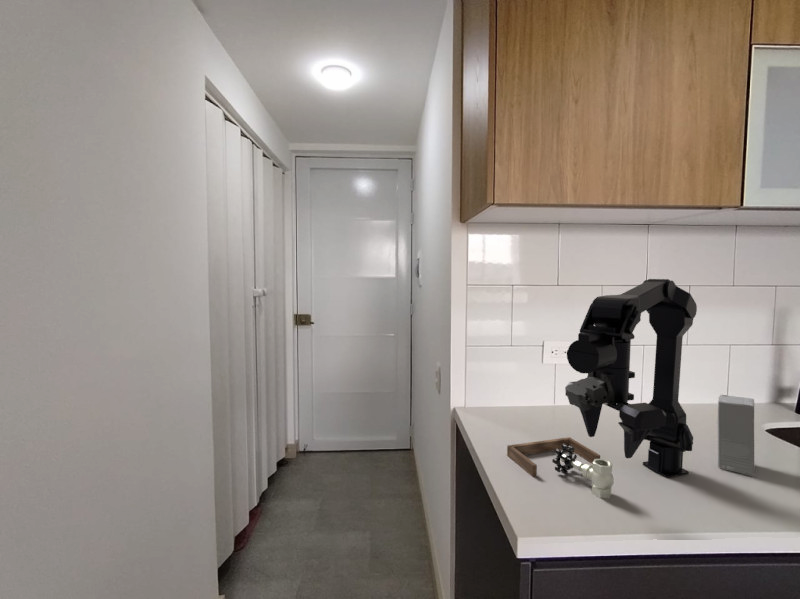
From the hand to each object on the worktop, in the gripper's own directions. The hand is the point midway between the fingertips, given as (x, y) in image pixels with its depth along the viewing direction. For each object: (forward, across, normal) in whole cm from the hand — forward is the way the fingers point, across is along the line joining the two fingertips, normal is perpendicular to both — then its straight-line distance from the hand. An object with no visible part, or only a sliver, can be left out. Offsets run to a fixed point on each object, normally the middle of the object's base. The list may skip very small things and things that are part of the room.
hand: (608, 446), depth 75 cm
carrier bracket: (+12, -19, +2) cm, 23 cm away
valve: (+13, -9, +2) cm, 15 cm away
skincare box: (+13, -7, +41) cm, 44 cm away
